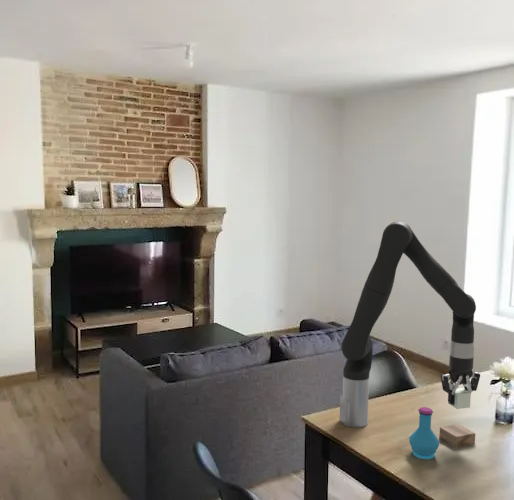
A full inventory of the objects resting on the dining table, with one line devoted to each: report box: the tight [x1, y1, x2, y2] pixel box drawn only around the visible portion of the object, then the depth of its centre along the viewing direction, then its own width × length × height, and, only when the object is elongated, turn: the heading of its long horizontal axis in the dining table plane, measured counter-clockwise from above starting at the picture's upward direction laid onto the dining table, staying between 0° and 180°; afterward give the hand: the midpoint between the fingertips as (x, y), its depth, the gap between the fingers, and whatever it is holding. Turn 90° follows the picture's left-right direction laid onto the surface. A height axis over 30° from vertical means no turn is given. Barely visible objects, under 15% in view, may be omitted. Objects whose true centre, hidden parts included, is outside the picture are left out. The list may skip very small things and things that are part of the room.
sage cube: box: [447, 387, 472, 410], centre depth 187 cm, size 5×5×5 cm
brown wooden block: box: [438, 423, 476, 448], centre depth 188 cm, size 8×8×4 cm
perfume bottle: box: [408, 406, 440, 460], centre depth 178 cm, size 9×9×15 cm
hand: (459, 403), depth 187 cm, fingers closed on sage cube, 5 cm apart
